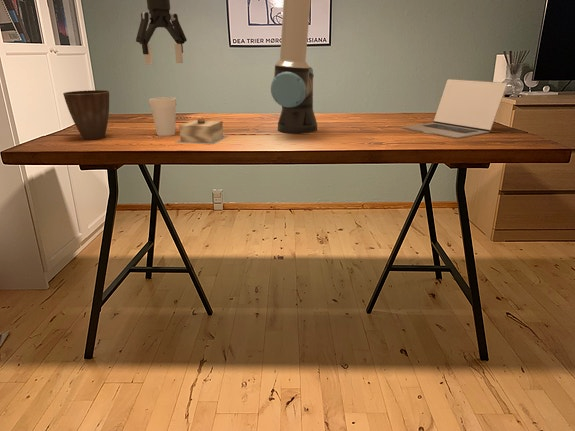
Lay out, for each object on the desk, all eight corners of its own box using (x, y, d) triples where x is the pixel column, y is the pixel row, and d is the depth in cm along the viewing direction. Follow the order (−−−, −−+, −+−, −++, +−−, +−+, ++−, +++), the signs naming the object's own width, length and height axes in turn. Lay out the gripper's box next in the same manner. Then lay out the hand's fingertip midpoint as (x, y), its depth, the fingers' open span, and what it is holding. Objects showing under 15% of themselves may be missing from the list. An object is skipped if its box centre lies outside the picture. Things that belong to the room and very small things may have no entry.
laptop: (400, 129, 175) (404, 82, 169) (443, 123, 188) (447, 78, 181) (456, 140, 155) (463, 86, 149) (500, 132, 168) (507, 82, 161)
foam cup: (172, 138, 163) (168, 100, 158) (148, 137, 164) (144, 100, 160) (183, 133, 171) (180, 97, 167) (160, 132, 173) (156, 97, 169)
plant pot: (66, 137, 166) (57, 92, 161) (107, 132, 175) (100, 89, 170) (78, 143, 155) (70, 95, 150) (122, 137, 164) (115, 91, 159)
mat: (228, 136, 163) (228, 136, 163) (213, 144, 151) (213, 144, 150) (192, 135, 167) (192, 134, 166) (174, 143, 154) (174, 142, 154)
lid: (223, 136, 162) (222, 117, 160) (211, 142, 152) (209, 122, 150) (194, 135, 165) (193, 116, 162) (180, 141, 155) (178, 121, 152)
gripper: (178, 0, 166) (184, 62, 173) (119, -5, 147) (128, 65, 155) (193, -1, 162) (198, 62, 169) (133, -6, 143) (142, 65, 150)
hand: (164, 63), depth 162 cm, fingers open, 13 cm apart
